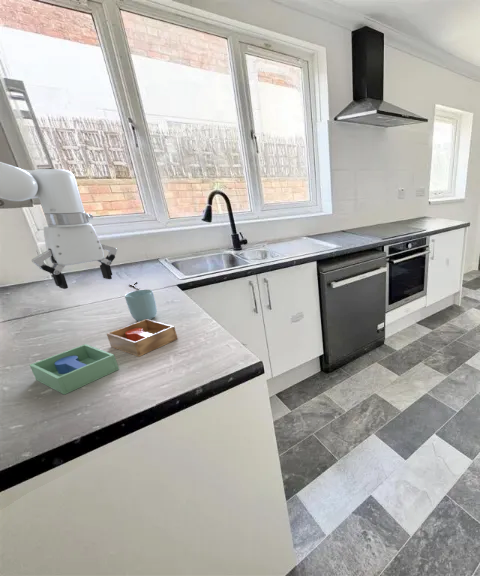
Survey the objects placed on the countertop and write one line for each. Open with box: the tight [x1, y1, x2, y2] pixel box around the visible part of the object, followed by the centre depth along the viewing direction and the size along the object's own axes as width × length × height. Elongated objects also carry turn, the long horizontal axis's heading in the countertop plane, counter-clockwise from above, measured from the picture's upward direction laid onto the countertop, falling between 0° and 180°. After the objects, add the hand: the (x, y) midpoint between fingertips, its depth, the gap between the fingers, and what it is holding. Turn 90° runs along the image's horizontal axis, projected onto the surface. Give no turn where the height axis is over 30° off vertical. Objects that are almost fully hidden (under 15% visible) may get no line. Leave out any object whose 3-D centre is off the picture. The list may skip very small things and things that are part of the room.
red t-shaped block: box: [125, 328, 153, 342], centre depth 95 cm, size 11×4×3 cm, turn 66°
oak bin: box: [106, 319, 179, 358], centre depth 94 cm, size 11×14×4 cm
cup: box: [124, 289, 158, 322], centre depth 110 cm, size 8×8×10 cm
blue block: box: [54, 356, 86, 374], centre depth 79 cm, size 11×4×3 cm, turn 66°
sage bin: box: [29, 343, 120, 395], centre depth 79 cm, size 11×14×4 cm
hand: (86, 283), depth 85 cm, fingers open, 9 cm apart
